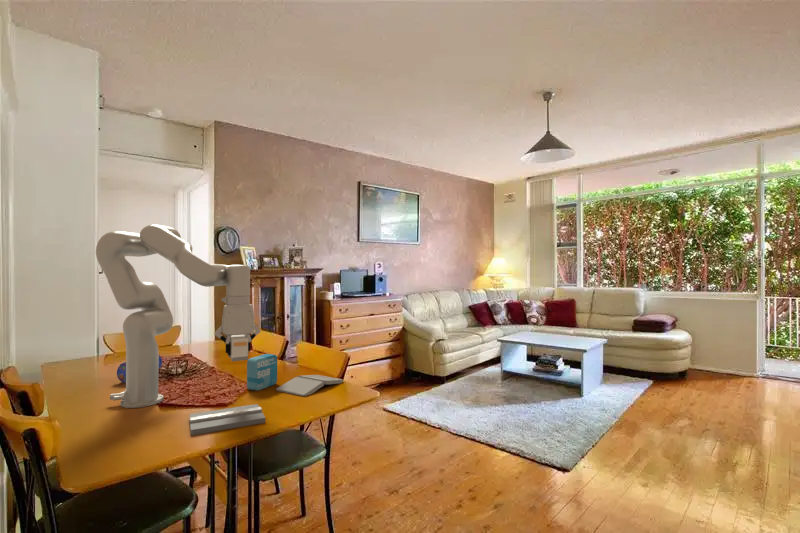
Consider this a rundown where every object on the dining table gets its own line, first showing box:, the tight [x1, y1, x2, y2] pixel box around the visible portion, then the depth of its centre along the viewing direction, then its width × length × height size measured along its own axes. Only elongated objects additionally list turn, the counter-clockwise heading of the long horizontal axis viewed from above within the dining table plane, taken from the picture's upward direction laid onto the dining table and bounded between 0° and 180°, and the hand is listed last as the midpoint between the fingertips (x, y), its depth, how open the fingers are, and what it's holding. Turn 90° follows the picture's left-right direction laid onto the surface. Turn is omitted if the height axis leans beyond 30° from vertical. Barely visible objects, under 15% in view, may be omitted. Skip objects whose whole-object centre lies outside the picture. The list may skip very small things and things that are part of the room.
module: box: [228, 334, 249, 362], centre depth 138 cm, size 5×9×7 cm, turn 30°
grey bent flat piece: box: [275, 374, 344, 397], centre depth 161 cm, size 23×15×4 cm, turn 150°
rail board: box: [189, 403, 266, 436], centre depth 124 cm, size 20×14×2 cm
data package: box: [246, 353, 278, 392], centre depth 160 cm, size 12×4×12 cm, turn 156°
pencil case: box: [116, 355, 163, 384], centre depth 174 cm, size 22×9×10 cm, turn 5°
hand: (238, 353), depth 138 cm, fingers closed on module, 5 cm apart
